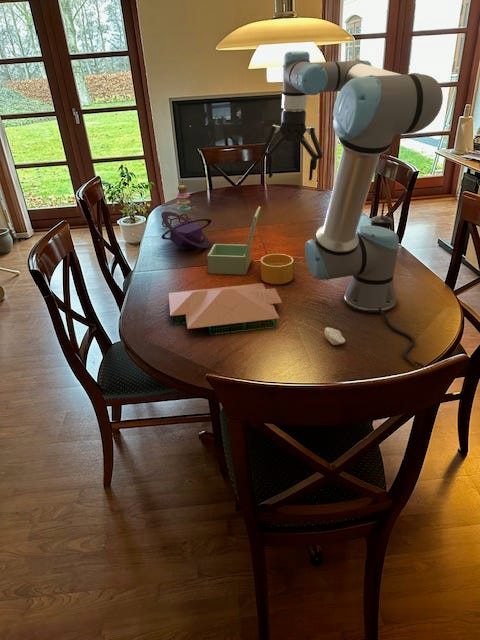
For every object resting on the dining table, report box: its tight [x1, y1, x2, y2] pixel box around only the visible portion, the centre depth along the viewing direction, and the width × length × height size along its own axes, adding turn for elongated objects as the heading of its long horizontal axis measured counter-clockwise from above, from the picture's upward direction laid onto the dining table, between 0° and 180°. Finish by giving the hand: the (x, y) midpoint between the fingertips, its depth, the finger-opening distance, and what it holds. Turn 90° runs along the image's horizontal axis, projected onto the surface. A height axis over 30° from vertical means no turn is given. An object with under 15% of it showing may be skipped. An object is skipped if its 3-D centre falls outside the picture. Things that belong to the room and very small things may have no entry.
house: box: [168, 282, 283, 335], centre depth 132 cm, size 23×33×8 cm
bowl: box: [260, 253, 295, 285], centre depth 152 cm, size 11×11×7 cm
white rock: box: [324, 326, 346, 346], centre depth 118 cm, size 7×5×4 cm
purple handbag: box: [160, 184, 212, 252], centre depth 175 cm, size 22×21×25 cm
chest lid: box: [245, 206, 262, 256], centre depth 155 cm, size 14×12×1 cm
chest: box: [206, 243, 252, 276], centre depth 162 cm, size 14×12×7 cm
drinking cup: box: [370, 201, 393, 230], centre depth 164 cm, size 8×8×20 cm
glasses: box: [161, 213, 199, 228], centre depth 201 cm, size 13×13×5 cm
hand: (290, 177), depth 150 cm, fingers open, 13 cm apart
